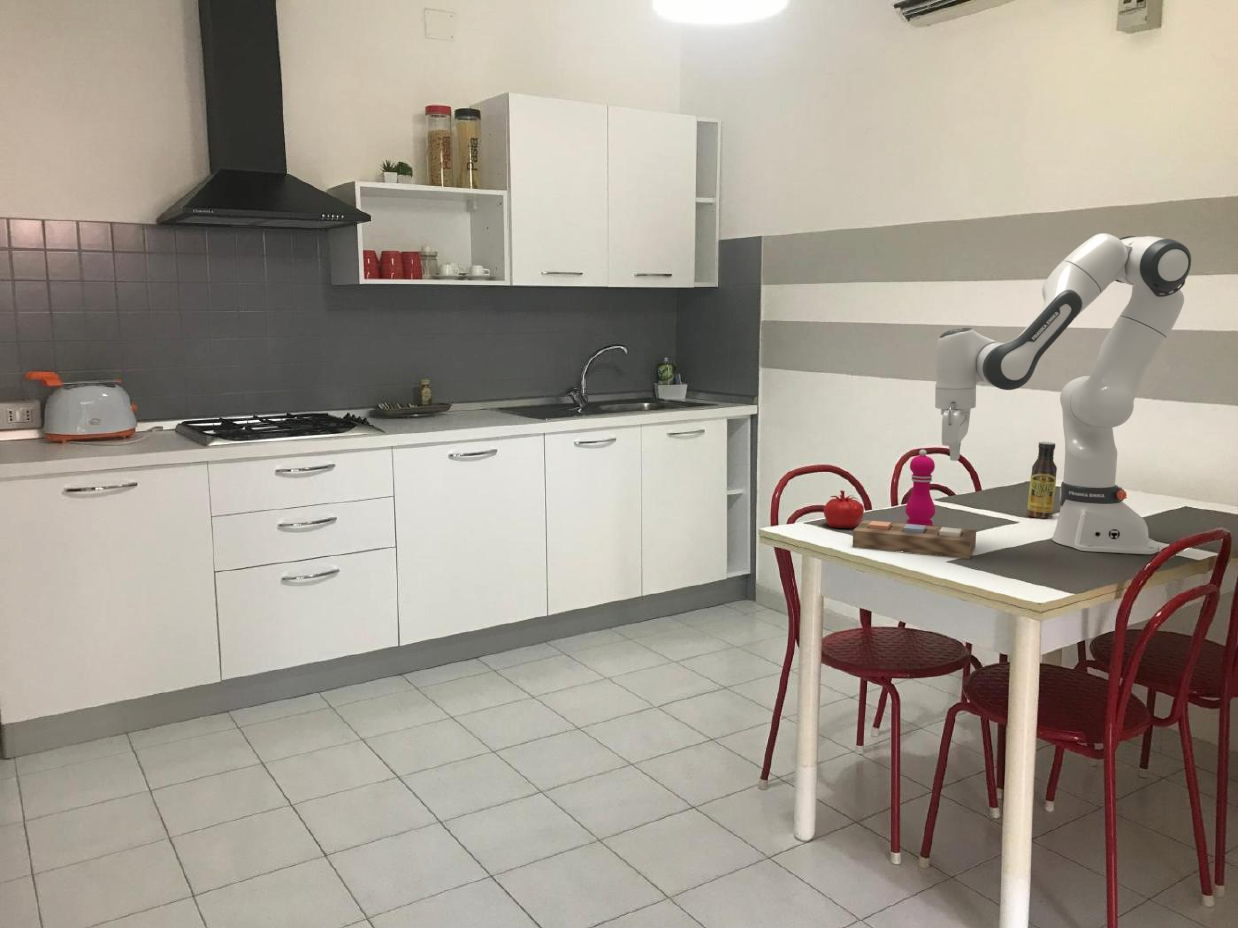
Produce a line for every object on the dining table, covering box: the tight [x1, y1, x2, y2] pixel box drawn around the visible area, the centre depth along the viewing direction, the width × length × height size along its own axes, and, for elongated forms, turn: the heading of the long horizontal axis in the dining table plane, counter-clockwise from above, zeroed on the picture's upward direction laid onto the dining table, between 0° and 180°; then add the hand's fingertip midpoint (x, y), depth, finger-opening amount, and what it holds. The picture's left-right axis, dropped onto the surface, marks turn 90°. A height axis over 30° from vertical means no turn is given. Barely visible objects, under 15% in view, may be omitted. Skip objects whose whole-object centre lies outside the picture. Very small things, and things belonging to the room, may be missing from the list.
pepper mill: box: [905, 449, 936, 526], centre depth 252 cm, size 7×7×20 cm
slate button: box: [903, 523, 926, 534], centre depth 234 cm, size 4×4×4 cm
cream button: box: [939, 526, 963, 537], centre depth 230 cm, size 4×4×4 cm
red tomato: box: [823, 490, 865, 529], centre depth 255 cm, size 10×10×9 cm
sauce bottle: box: [1026, 441, 1058, 519], centre depth 264 cm, size 6×6×20 cm
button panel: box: [852, 519, 977, 560], centre depth 234 cm, size 26×12×4 cm, turn 65°
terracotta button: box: [869, 520, 892, 530], centre depth 237 cm, size 4×4×4 cm
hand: (954, 459), depth 231 cm, fingers closed
